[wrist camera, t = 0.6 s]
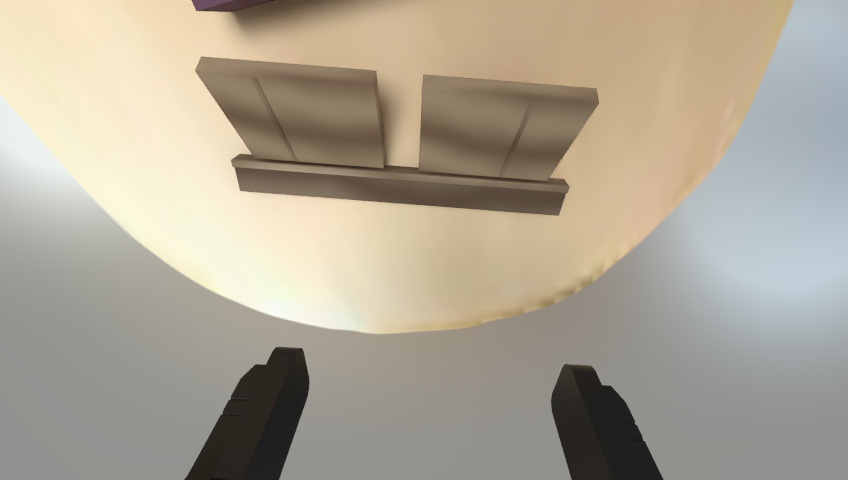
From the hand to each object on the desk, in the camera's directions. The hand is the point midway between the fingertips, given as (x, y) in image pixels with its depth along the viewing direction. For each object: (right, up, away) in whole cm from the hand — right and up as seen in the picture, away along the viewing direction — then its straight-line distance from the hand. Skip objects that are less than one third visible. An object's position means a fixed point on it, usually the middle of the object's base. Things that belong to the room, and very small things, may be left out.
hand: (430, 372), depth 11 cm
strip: (-2, +9, +21) cm, 23 cm away
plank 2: (+5, +12, +15) cm, 20 cm away
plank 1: (-9, +14, +15) cm, 22 cm away
